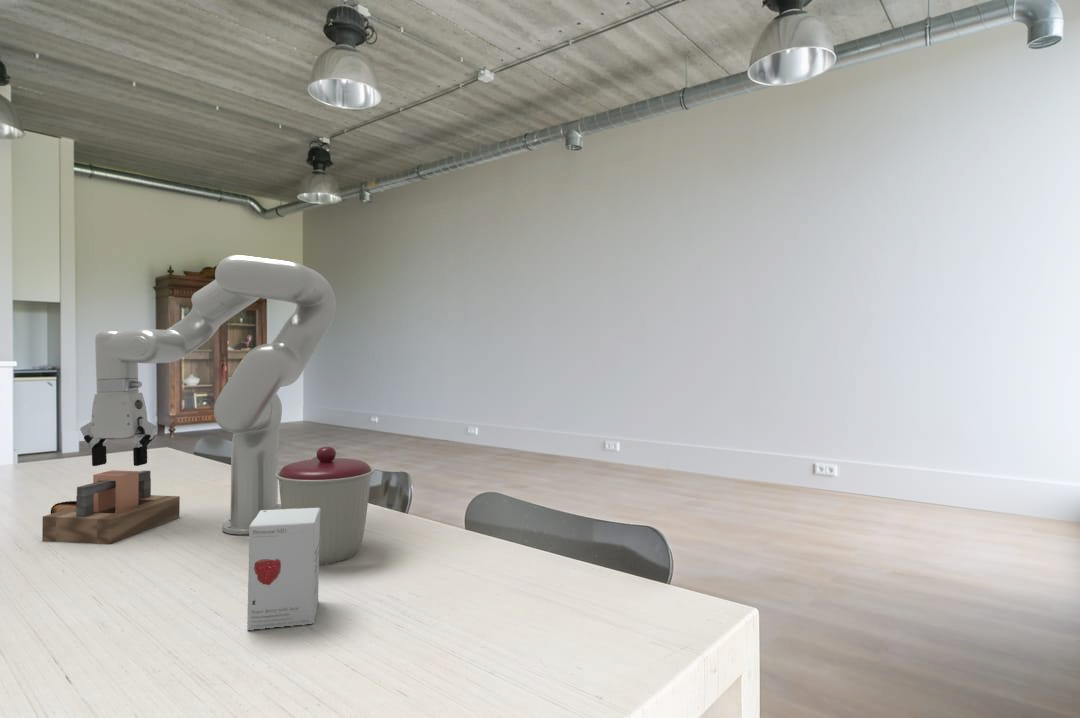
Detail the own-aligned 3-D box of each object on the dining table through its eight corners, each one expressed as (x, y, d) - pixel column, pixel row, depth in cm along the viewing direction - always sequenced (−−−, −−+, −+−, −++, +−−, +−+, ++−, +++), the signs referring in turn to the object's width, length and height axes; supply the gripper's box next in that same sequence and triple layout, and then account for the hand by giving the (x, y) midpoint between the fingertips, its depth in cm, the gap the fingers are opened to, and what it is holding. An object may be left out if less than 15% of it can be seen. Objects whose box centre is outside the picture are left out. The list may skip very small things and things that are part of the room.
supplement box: (245, 632, 83) (246, 525, 83) (257, 606, 92) (258, 509, 92) (314, 625, 86) (315, 521, 86) (320, 600, 94) (321, 506, 94)
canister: (343, 576, 104) (344, 456, 104) (252, 568, 108) (253, 451, 108) (389, 544, 122) (390, 442, 122) (309, 538, 126) (311, 438, 126)
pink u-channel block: (138, 506, 133) (138, 471, 133) (120, 512, 128) (121, 475, 128) (111, 505, 134) (111, 470, 134) (92, 511, 129) (93, 474, 129)
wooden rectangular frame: (179, 517, 140) (179, 470, 140) (110, 544, 120) (111, 489, 120) (120, 515, 142) (120, 468, 142) (42, 540, 122) (42, 487, 122)
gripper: (167, 385, 134) (169, 461, 134) (95, 386, 135) (97, 462, 136) (141, 387, 126) (143, 468, 127) (66, 388, 128) (68, 468, 128)
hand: (119, 464), depth 131 cm, fingers open, 9 cm apart
